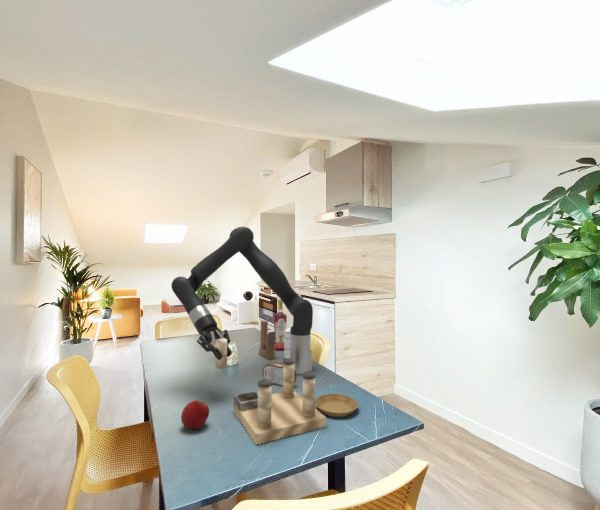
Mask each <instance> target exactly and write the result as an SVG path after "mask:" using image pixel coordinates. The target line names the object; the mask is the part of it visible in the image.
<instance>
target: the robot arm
mask: <svg viewBox="0 0 600 510" xmlns="http://www.w3.org/2000/svg"><path fill="white" fill-rule="evenodd" d="M254 237H255V235H254V232H253V231H252V230H251V229H250V228H249V227H247V226H239V227H236V228H234V229H233V230H231V232H230V233H229V237H228V239H227V240H226V241H225V242H224V243H223V244H222V245H220V246H219V247H218V248H217V249H216V250H214V251H213V252H211V253H209V255H207V256H206V257H204V258H203V259H202V260H200V261H199V262H198V263H196V265H195V266H194V267H192V268H191V269H190V275H189V277H188V278H187V277H185V276H177V277H175V278H174V279H173V280H172V282H171V289H172V291H173V293H174V294H175V297H176V298H177V300H179V302H180V304H181V305H182V306H183V308H184V310H185V311H186V313H187V314H188V317H189V320H190V321H191V323H192V324H193V325H192V326H193V327H194V328H195V329H196V331H197V333H198V334H199V337H198V338H197V340H196V342H197V343H198V344H199V346H200V347H202V349H203V350H205V352H207V353H210V352H211V353H213V355H214V356H215V359H216V358H217V359H218V360H221V358H222V357H223V356H222V354H221V352H220V351H219V349H218V348H217V346H216V339H220V338H225V339H227V358H228V357H230V356H231V355H232V354H233V352H232V350H231V348H230V347H229V344H230V343H231V339H230V336H229V333H228V330H227V329H224V330H221V329H220V328H219V327H218V323H217V321H216V319H215V318H214V316H213V314H212V313H211V311H210V310H209V309H208V307H207V306H206V305H205V303H204V301H203V300H202V298H201V297H200V296H199V295H198V294H197V293H196V292H197V291H199V289H200V287H201V286H202V284H203V283H204V281H206V280H207V279H208V278H209V277H211V276H212V275H213V274H215V272H216V271H218V269H220V268H221V267H222V266H223V265H224V264H225V263H226V262H227V261H228V260H230V259H231V258H232V257H234V256H235V255H237V254H238V253H240V254H241V255H242V256H243V258H245V259H246V260H247V262H248V263H249V264H250V265H251V267H252V268H253V270H254V271H255V272H256V274H257V275H258V276H259V278H260V279H261V280H262V282H264V283H265V284H266V285H267V287H268V288H269V289H270V290H271V291H272V292H273V293H274V294H275V295H276V296H278V299H281V300H282V301H283V304H284V305H285V308H287V310H288V312H289V313H290V314H291V316H293V317H292V318H293V319H292V320H293V321H292V326H291V327H290V328H291V331H290V359H294V360H295V363H294V370H295V371H296V374H297V375H303V373H304V372H313V351H312V350H311V332H312V328H313V320H314V319H313V317H314V310H313V305H312V303H311V302H310V301H309V300H308V299H304V298H303V297H301V296H300V295H299V294H298V293H297V292H296V291H295V290H294V289H293V287H292V285H291V284H290V283H289V280H288V278H287V277H286V275H285V273H284V272H283V271H282V269H281V268H280V267H279V266H278V264H277V263H276V262H275V261H274V260H273V259H272V258H271V257H270V256H268V255H267V254H266V253H264V252H263V251H262V250H261V249H260V248H259V247H258V246H257V244H256V243H255V242H254V240H255V239H254Z"/></svg>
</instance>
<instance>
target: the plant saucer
mask: <svg viewBox="0 0 600 510" xmlns="http://www.w3.org/2000/svg"><path fill="white" fill-rule="evenodd" d="M358 406H359V403H358V402H357V401H356V399H354V398H353V397H351V396H349V395H345V394H341V393H327V394H322V395H320V396H318V397H317V398H315V407H317V408H318V411H319V412H321V413H322V414H323V415H326V416H328V417H334V418H335V417H336V418H344V417H348V416H349V415H351V414H353V413H354V412H355V411H356V409H358Z"/></svg>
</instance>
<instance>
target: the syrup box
mask: <svg viewBox="0 0 600 510" xmlns="http://www.w3.org/2000/svg"><path fill="white" fill-rule="evenodd" d="M290 331H291V327H290V328H286V330H285V331H284V350H283V351H284V352H283V353H284V359H285V358H286V359H290Z"/></svg>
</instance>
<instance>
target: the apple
mask: <svg viewBox="0 0 600 510" xmlns="http://www.w3.org/2000/svg"><path fill="white" fill-rule="evenodd" d="M209 416H210V407H209V406H208V405H207V404H206V403H205V402H203V401H200V400H196V399H195V400H191V401H190V402H188V403H187V404H186V405H185V406H184V408H183V410H182V412H181V416H180V420H181V423H182V425H183V426H184V427H185V428H187V429H190V430H197V429H199V428H201V427H202V426H204V424H205V423H206V422H207V420H208V417H209Z"/></svg>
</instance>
